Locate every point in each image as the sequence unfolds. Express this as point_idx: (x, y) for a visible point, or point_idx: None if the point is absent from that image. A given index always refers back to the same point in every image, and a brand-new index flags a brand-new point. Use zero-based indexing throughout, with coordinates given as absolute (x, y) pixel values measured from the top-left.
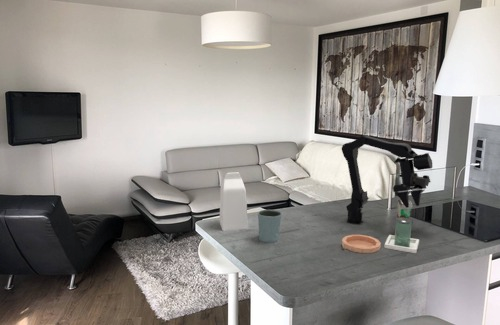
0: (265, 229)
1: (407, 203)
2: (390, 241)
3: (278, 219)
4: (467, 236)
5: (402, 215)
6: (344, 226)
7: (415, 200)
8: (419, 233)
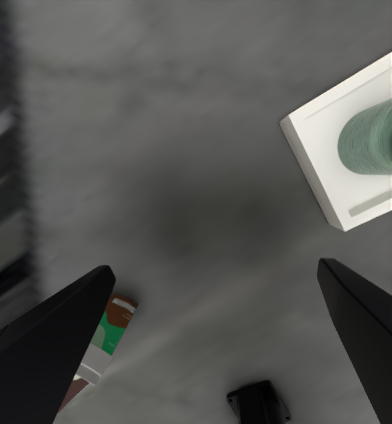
0: None
1: (383, 293)
2: (368, 198)
3: None
4: (20, 75)
5: (117, 325)
6: (333, 395)
7: (81, 332)
8: (159, 204)
